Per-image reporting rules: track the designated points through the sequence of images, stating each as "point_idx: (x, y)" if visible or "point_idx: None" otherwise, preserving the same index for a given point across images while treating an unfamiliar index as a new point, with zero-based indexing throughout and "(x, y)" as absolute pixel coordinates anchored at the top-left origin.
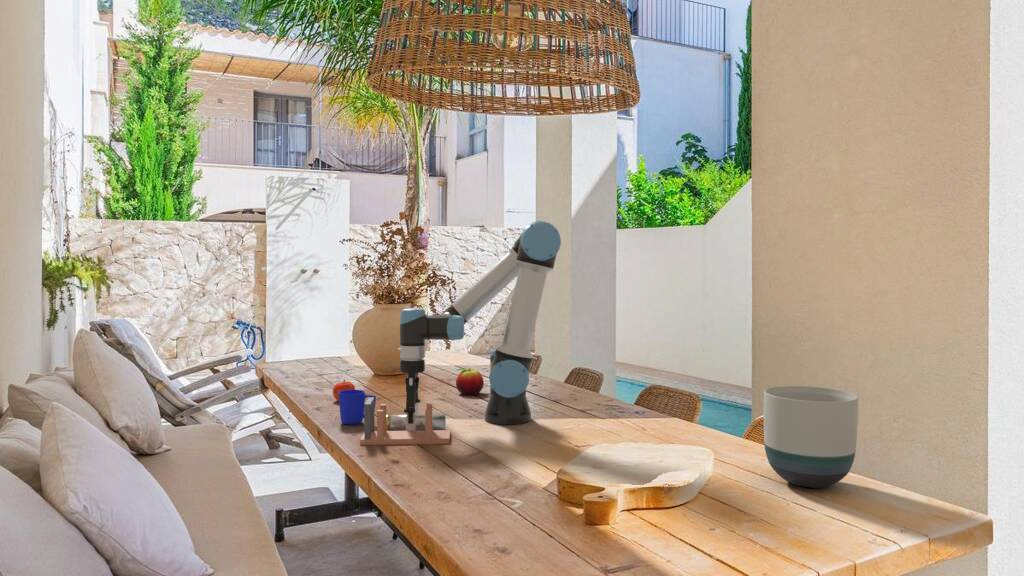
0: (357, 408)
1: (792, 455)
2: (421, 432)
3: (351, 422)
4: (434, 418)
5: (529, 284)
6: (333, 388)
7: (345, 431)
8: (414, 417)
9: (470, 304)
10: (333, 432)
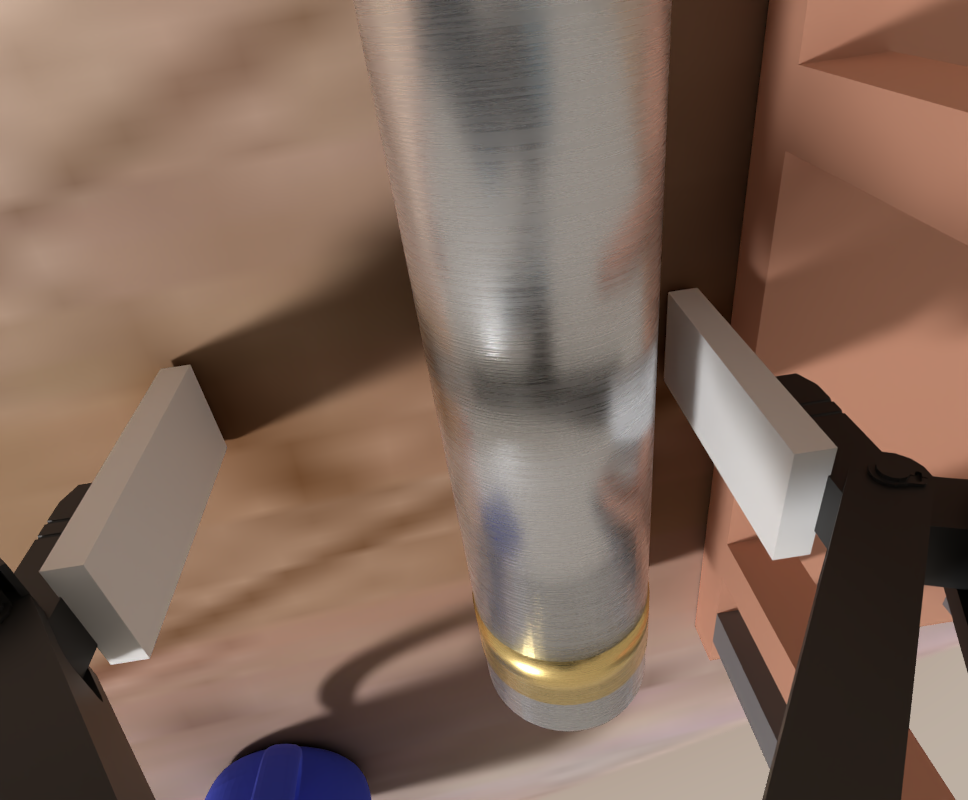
0: None
1: None
2: (885, 203)
3: (365, 782)
4: (652, 90)
5: None
6: None
7: (540, 738)
8: (794, 407)
9: None
10: (568, 770)
